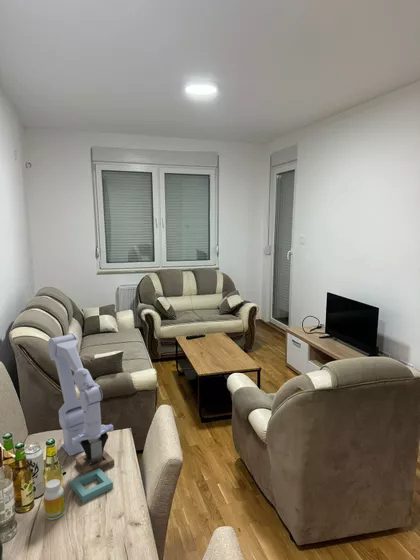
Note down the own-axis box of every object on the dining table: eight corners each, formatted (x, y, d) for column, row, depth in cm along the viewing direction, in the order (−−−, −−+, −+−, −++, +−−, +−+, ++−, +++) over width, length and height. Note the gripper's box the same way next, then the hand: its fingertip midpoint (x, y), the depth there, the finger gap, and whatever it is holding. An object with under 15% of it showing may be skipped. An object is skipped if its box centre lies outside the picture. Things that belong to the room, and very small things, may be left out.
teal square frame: (70, 486, 124) (70, 480, 123) (99, 473, 130) (99, 468, 130) (83, 502, 116) (82, 496, 116) (113, 487, 123) (112, 482, 122)
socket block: (76, 463, 136) (75, 458, 136) (102, 453, 142) (102, 448, 142) (87, 477, 128) (87, 471, 128) (114, 464, 135) (114, 459, 135)
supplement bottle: (65, 517, 110) (62, 486, 109) (45, 522, 108) (42, 491, 107) (64, 505, 115) (62, 475, 114) (45, 510, 113) (43, 480, 112)
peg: (87, 463, 136) (85, 439, 134) (98, 459, 138) (96, 435, 137) (92, 468, 133) (90, 444, 131) (102, 463, 135) (101, 440, 134)
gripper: (76, 431, 126) (79, 469, 127) (116, 417, 135) (118, 452, 137) (68, 424, 131) (71, 460, 133) (107, 410, 140) (109, 444, 142)
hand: (94, 456), depth 135 cm, fingers closed on peg, 4 cm apart
